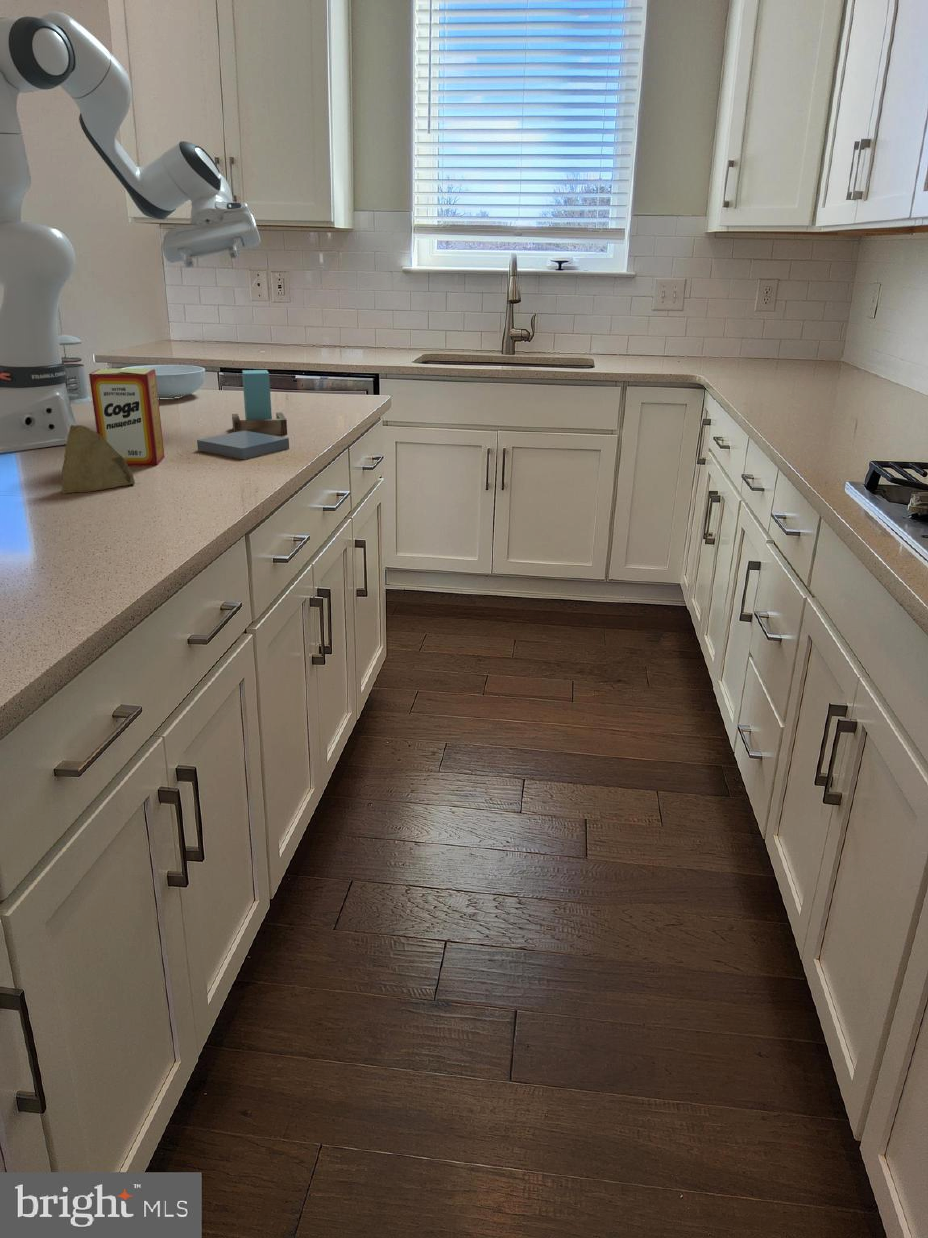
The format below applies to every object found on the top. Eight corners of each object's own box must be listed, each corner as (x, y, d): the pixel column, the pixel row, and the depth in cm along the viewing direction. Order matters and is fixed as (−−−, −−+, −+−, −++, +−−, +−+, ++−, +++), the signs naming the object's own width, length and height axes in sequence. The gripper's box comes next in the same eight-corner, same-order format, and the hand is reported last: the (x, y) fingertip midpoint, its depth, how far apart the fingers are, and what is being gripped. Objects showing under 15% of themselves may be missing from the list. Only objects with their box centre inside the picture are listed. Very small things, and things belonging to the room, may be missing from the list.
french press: (78, 404, 214) (62, 292, 204) (34, 402, 216) (16, 290, 206) (101, 398, 223) (87, 290, 213) (59, 395, 225) (43, 288, 215)
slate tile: (243, 459, 165) (242, 448, 164) (197, 450, 171) (196, 439, 170) (289, 448, 174) (288, 438, 173) (244, 440, 180) (244, 430, 179)
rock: (145, 464, 150) (84, 455, 149) (135, 429, 143) (71, 419, 142) (126, 517, 145) (63, 507, 144) (115, 483, 137) (48, 473, 137)
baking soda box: (101, 465, 158) (88, 371, 152) (110, 457, 164) (98, 366, 158) (157, 465, 159) (146, 371, 153) (164, 457, 165) (154, 366, 159)
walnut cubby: (235, 436, 184) (234, 421, 183) (232, 428, 191) (231, 413, 190) (287, 434, 187) (286, 419, 185) (282, 426, 194) (281, 412, 193)
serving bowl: (219, 392, 235) (217, 364, 233) (188, 405, 216) (185, 375, 214) (142, 389, 237) (138, 362, 235) (104, 402, 218) (101, 372, 215)
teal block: (248, 433, 187) (243, 373, 182) (246, 428, 191) (242, 370, 187) (272, 432, 188) (269, 373, 184) (270, 427, 193) (266, 369, 188)
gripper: (158, 219, 191) (155, 255, 183) (253, 200, 191) (254, 235, 183) (169, 247, 196) (167, 283, 188) (262, 228, 196) (263, 264, 188)
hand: (211, 259), depth 186 cm, fingers open, 8 cm apart
